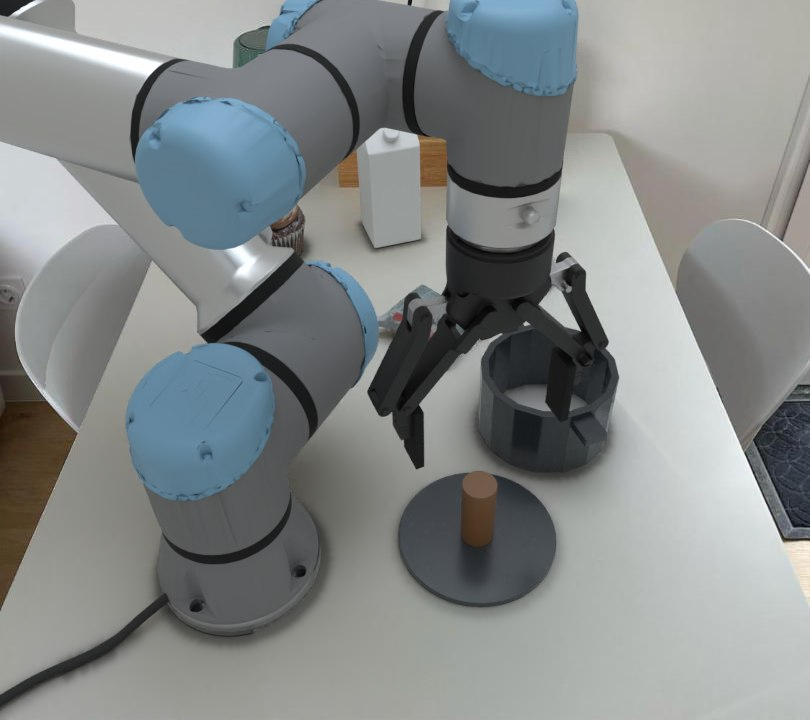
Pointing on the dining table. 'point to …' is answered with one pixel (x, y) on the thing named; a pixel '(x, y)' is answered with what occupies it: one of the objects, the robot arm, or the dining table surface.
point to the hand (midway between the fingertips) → (486, 433)
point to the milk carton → (390, 187)
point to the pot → (534, 429)
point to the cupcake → (289, 231)
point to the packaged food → (395, 314)
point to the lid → (477, 539)
